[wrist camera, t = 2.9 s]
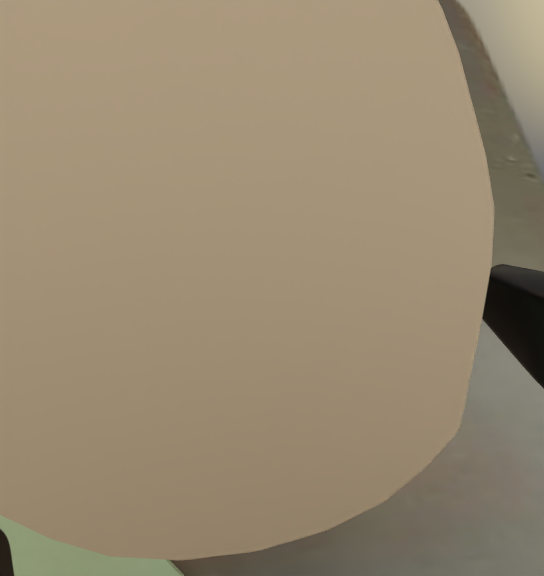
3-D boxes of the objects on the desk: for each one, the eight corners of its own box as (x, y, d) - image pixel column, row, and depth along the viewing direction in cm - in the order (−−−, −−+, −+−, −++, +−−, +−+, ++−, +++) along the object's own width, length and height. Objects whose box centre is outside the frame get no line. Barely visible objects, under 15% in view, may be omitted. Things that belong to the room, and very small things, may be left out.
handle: (259, 251, 20) (397, -183, 5) (286, 419, 18) (573, 485, 4) (133, 266, 19) (-130, -187, 4) (151, 442, 18) (-134, 633, 3)
